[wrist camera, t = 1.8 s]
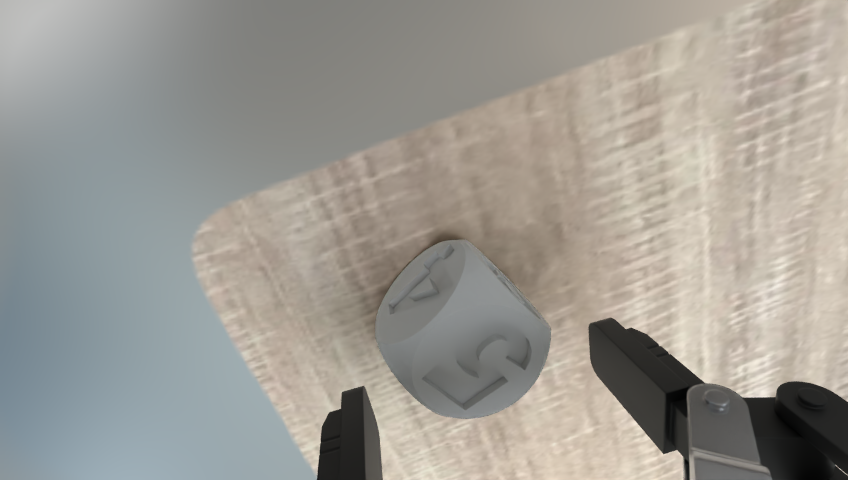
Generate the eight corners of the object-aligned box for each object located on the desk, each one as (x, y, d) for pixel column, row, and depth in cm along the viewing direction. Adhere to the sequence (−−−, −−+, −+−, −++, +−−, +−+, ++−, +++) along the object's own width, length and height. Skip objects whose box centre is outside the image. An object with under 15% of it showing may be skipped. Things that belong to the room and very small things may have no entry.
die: (369, 300, 18) (376, 375, 13) (450, 221, 17) (486, 272, 13) (445, 358, 20) (473, 442, 15) (520, 289, 19) (574, 355, 14)
